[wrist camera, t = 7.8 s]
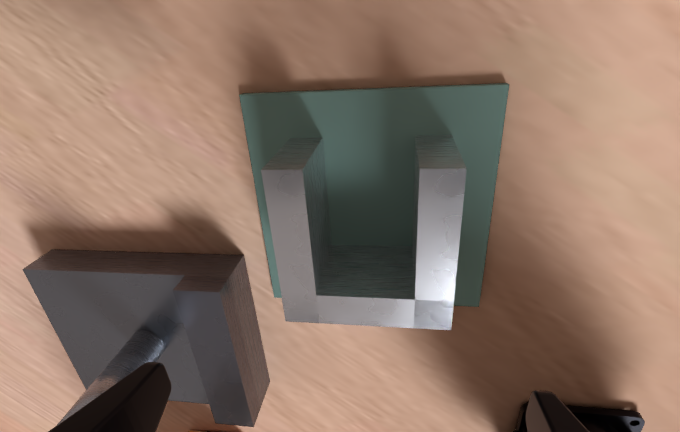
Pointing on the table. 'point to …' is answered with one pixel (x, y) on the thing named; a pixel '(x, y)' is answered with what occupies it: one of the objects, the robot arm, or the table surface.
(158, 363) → the robot arm
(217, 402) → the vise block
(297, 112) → the green mat
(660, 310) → the table surface
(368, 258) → the grey u-shaped bracket
